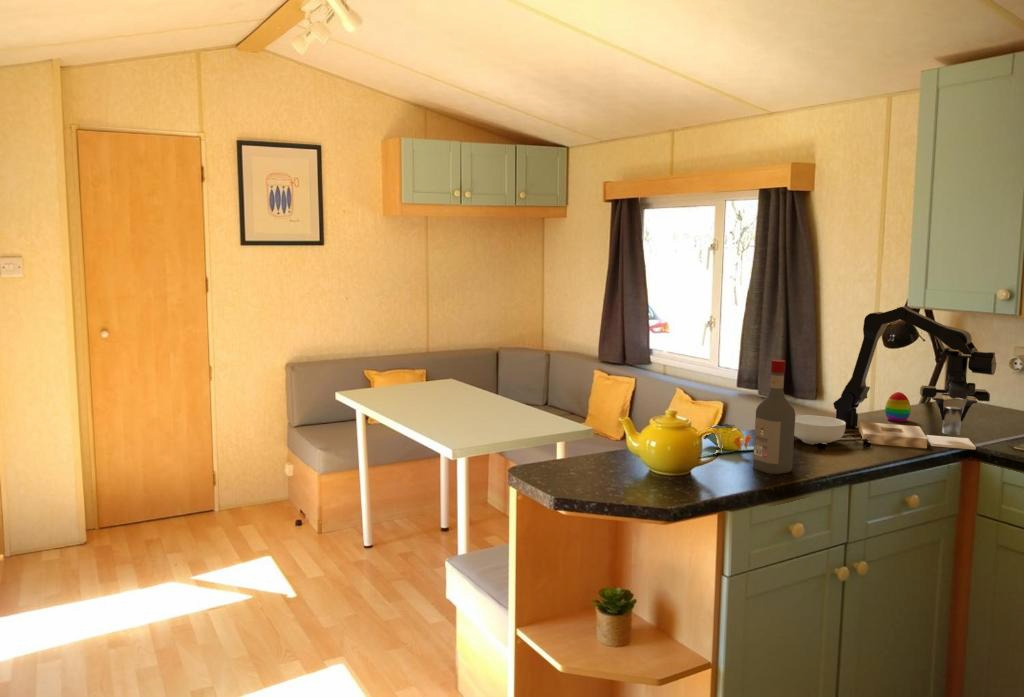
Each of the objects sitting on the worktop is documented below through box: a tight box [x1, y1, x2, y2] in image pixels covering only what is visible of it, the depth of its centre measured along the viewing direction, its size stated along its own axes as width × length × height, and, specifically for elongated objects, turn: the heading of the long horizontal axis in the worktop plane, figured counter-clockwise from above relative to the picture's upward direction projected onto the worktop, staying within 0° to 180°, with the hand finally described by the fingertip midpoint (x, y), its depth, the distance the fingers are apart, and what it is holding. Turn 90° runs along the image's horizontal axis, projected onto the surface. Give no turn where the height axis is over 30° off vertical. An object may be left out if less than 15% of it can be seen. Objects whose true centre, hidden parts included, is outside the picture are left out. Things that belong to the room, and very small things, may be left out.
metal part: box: [941, 406, 962, 436], centre depth 265 cm, size 5×5×8 cm
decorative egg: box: [884, 391, 912, 423], centre depth 298 cm, size 8×8×10 cm
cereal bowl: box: [794, 414, 846, 445], centre depth 265 cm, size 17×17×7 cm
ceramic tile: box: [925, 434, 977, 451], centre depth 266 cm, size 12×12×1 cm
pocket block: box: [858, 421, 928, 449], centre depth 270 cm, size 18×18×3 cm
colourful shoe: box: [701, 423, 754, 459], centre depth 252 cm, size 28×9×15 cm
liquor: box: [752, 359, 796, 475], centre depth 231 cm, size 9×9×30 cm
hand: (951, 420), depth 265 cm, fingers closed on metal part, 5 cm apart
